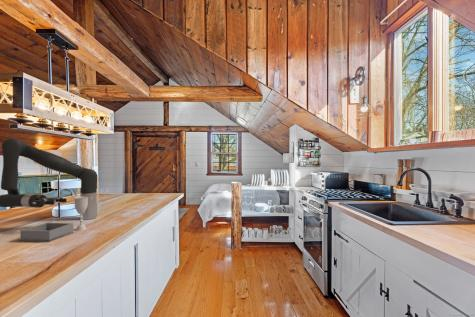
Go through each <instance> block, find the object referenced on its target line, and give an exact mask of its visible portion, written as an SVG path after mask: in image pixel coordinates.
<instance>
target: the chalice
mask: <svg viewBox="0 0 475 317" xmlns="http://www.w3.org/2000/svg"><path fill="white" fill-rule="evenodd" d="M88 198H89V197H87V196H84V197H81V196H75V197H73V199H74V209H75V210H76V212H77V214H79V224H78V225H77V227H76V228H75V231H84V230H86V229H87V227H86V225H85V224H84V223H83V222H84V220H82V218H83V216H82V214H83V213H84V212H85V211H86V209H87V206H88Z"/></svg>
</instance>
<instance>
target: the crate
mask: <svg viewBox="0 0 475 317" xmlns="http://www.w3.org/2000/svg"><path fill="white" fill-rule="evenodd" d="M73 233H74V223H73V222H71V223H70V222H46V223H42V224H39V225H35V226H31V227H28V228H25V229H21V230H20V232H19V234H20V235H19V237H20V238H19V239H20V242H40V243H41V242H45V243H46V242H47V243H49V242H50V243H51V242H52V241H56V240H58V239H61V238H63V237H66V236H68V235H70V234H73Z"/></svg>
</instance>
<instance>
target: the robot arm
mask: <svg viewBox="0 0 475 317" xmlns="http://www.w3.org/2000/svg"><path fill="white" fill-rule="evenodd" d="M1 150H2V161H3V162H2V171H1V172H2V173H1V181H0V182H1V183H0V188H1V190H3V191H6V192H7V193H6V194H5V193H4V194H0V208H11V207H12V208H13V207H20V208H21V207H22V208H24V207H25V208H36V209H37V208H44V207H45V206H47V205H49V206H51V205H52V206H54V205H55V204H57V203H67V198H63V197H50V196H49V197H47V196H46V195H44V194H41V193H40V194H38V193H37V194H35V193H34V194H33V193H28V194H20V192H19V188H18V184H19V182H18V181H19V159H20V158H19V157H24V158H26V159H29V160H31V161H33V162H35V163H36V164H38V165H41V166H42V167H45V168H47V169H49V170H52V171H54V172H55V171H56V172H57V173H62V174H66V175H69V176H73V177H75V178H78V180H80V197H84V196H87V197H89V198H88V206H87V209H86V211H85V212H84V213H83V214H82V216H83V218H82V220H83V221H84V220H85V221H86V220H94V219H97V217H98V203H97V197H98V196H97V193H98V192H97V190H98V174H97V172H96V170H94V169H91V168H86V167H83V166H80V165H78V164H75V163H74V162H72V161H70V160H68V159H66V158H65V157H62V156H59V155H57V154H55V153H52V152H49V151H46V150H43V149H40V148H37V147H34V146H32V145H30V144H28V143H26V142H24V141H22V140H21V139H19V138H7V139H5V140H4V141H2V143H1Z"/></svg>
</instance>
